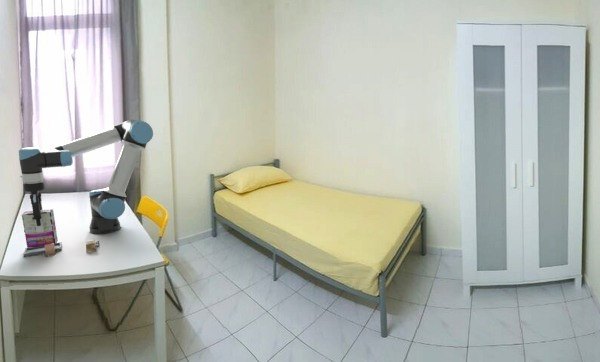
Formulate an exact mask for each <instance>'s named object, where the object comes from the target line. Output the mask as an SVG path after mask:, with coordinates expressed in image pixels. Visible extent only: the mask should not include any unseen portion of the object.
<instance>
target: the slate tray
mask: <svg viewBox="0 0 600 362" xmlns="http://www.w3.org/2000/svg"><path fill="white" fill-rule="evenodd" d="M54 247H55V253H57V252H62V251H63V250H62V249H63V243H62V242H57V243H56V244H54ZM44 254H45V255H46V252H45V246H38V247H29V248H27V247H25V249H24V251H23V258H27V257H32V256H39V255H44Z"/></svg>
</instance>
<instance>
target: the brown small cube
mask: <svg viewBox="0 0 600 362" xmlns="http://www.w3.org/2000/svg"><path fill="white" fill-rule="evenodd" d="M44 246H45V252H46V254H45V255H46V257H52V256H55V255H56V253H57V252H55V247H54V243H48V244H45V245H44Z"/></svg>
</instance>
